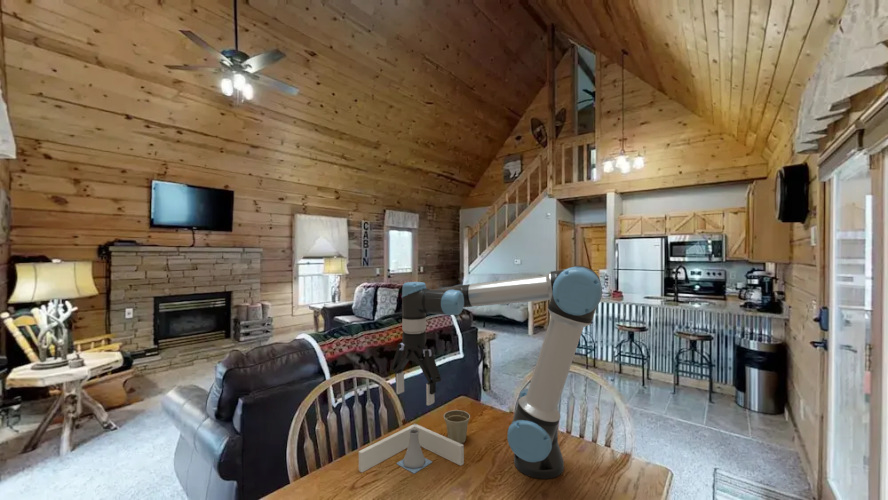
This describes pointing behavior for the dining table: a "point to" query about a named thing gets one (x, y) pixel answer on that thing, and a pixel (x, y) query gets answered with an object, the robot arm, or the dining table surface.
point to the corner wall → (401, 441)
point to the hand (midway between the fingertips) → (414, 398)
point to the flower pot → (457, 425)
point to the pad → (414, 468)
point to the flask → (414, 451)
